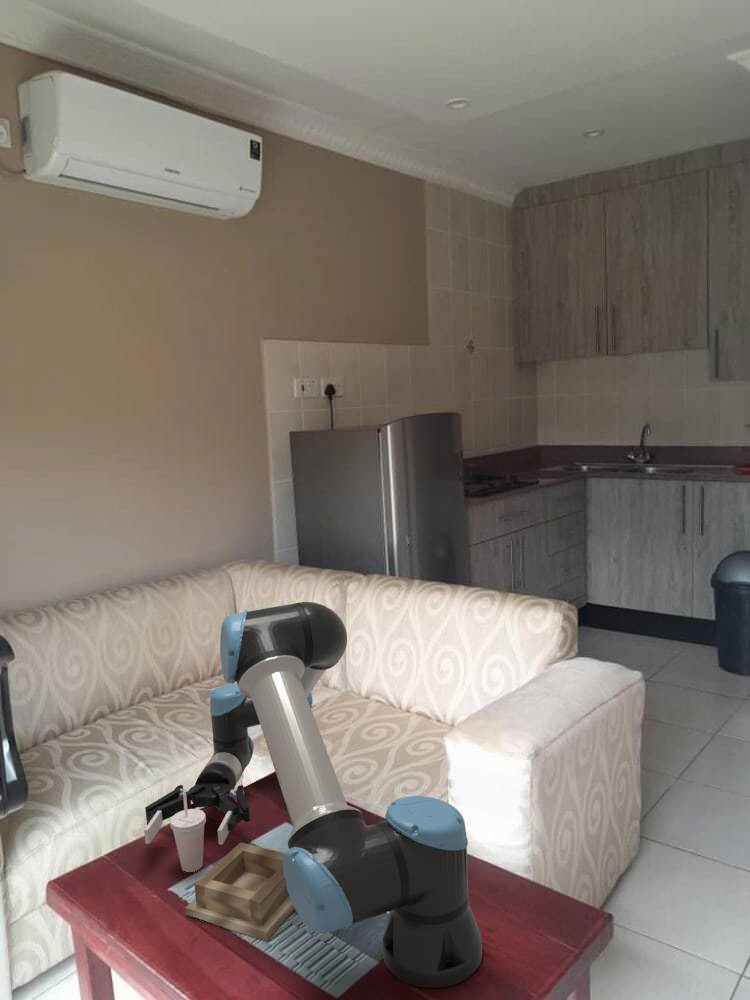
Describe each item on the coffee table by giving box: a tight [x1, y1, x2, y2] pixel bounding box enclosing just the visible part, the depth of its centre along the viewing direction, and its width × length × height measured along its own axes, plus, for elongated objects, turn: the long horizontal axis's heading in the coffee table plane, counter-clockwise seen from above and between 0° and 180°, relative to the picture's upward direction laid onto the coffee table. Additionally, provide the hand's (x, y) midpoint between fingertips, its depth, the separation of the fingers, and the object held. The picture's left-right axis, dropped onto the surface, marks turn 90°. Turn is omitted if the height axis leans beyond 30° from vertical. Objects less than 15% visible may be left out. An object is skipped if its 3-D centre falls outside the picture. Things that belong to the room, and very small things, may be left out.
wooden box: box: [185, 841, 295, 942], centre depth 132 cm, size 16×15×6 cm
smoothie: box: [169, 793, 207, 873], centre depth 142 cm, size 6×6×14 cm
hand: (183, 837), depth 139 cm, fingers open, 13 cm apart
